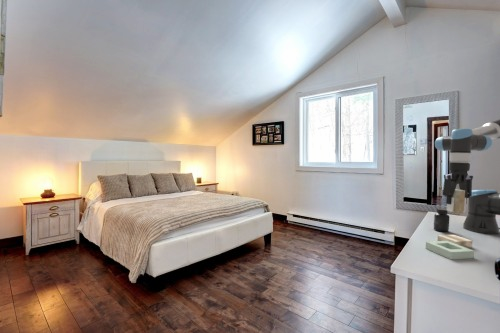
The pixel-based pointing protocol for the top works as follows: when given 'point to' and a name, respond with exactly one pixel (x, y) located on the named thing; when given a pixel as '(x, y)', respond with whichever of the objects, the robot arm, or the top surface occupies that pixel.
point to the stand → (456, 240)
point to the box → (458, 201)
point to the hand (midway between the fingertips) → (455, 211)
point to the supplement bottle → (441, 220)
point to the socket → (450, 250)
